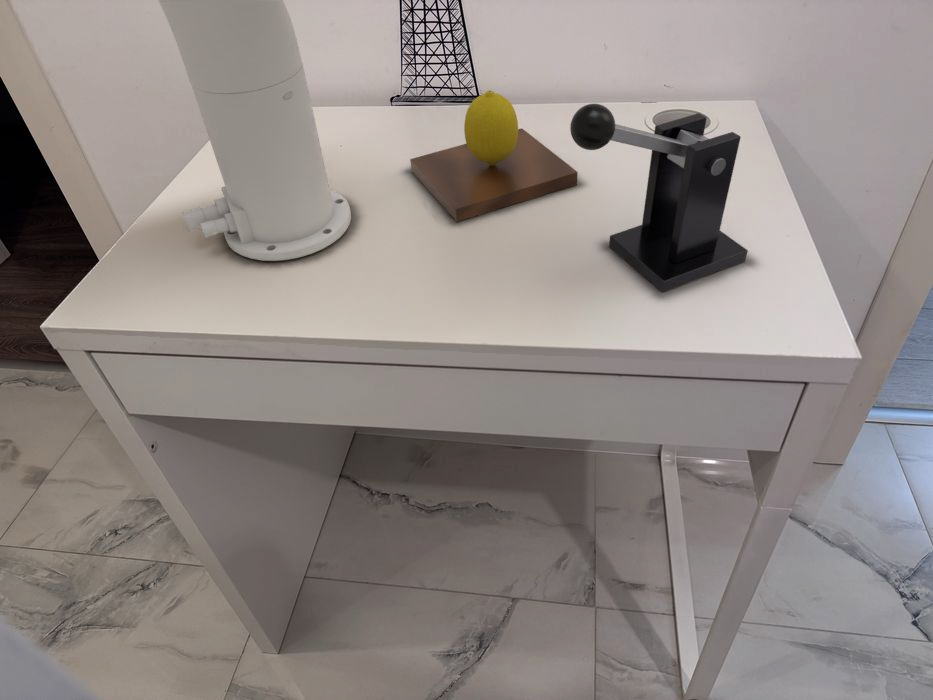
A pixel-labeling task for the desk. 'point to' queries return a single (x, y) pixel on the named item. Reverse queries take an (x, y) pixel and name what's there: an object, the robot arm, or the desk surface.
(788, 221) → the desk surface
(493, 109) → the lemon
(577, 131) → the lever
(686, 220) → the lever stand
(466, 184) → the board
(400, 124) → the desk surface
